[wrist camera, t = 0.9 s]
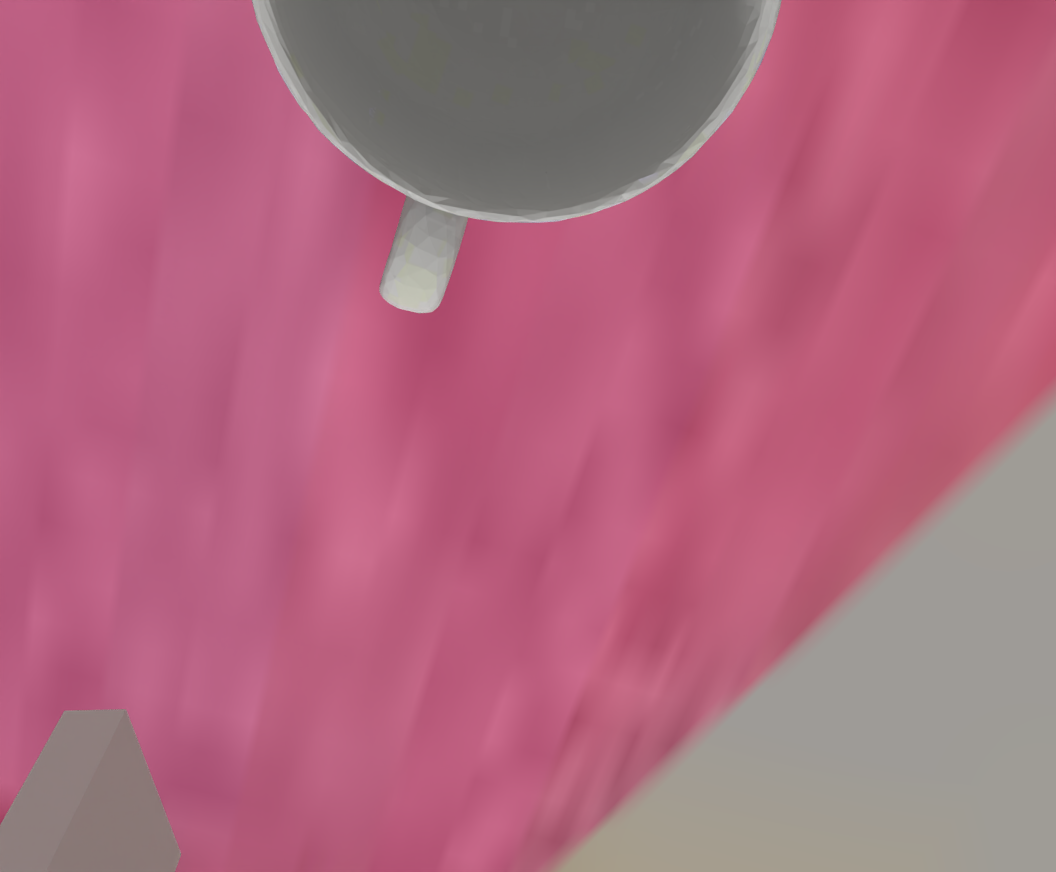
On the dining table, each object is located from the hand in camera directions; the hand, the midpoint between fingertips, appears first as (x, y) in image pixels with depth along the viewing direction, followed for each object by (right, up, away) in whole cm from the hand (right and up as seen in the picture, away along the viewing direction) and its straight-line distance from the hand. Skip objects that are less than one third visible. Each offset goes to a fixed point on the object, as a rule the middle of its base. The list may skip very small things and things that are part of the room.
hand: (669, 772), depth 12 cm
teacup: (-3, +16, +15) cm, 22 cm away
